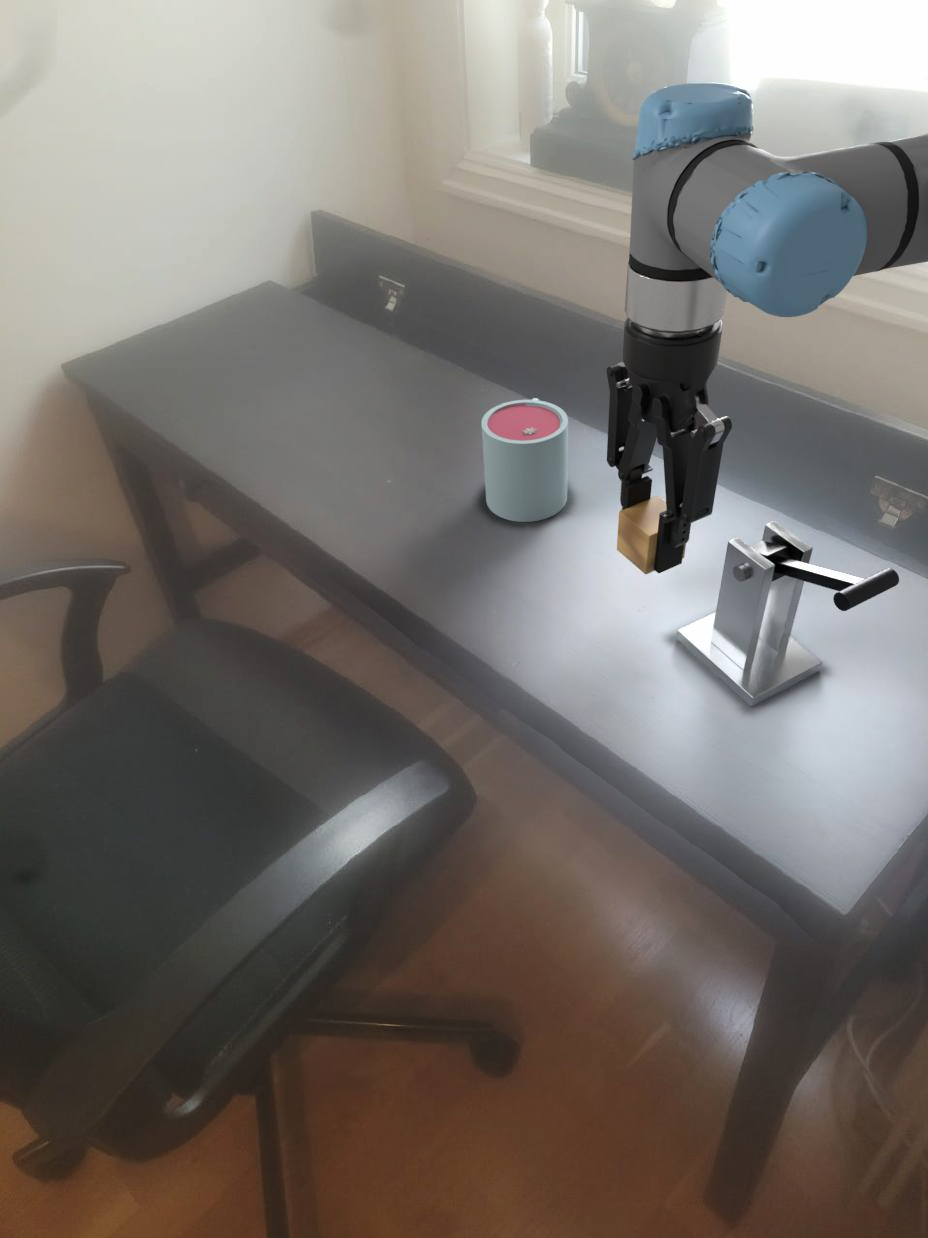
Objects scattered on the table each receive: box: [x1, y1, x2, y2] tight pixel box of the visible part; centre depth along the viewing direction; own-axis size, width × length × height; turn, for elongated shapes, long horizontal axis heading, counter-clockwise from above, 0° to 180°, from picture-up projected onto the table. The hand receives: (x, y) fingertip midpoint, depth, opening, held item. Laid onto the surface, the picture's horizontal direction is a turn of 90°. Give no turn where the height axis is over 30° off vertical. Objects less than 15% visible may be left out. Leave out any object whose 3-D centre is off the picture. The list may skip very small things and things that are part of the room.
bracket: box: [675, 520, 823, 708], centre depth 75 cm, size 10×8×13 cm
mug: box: [480, 397, 569, 523], centre depth 97 cm, size 14×9×10 cm
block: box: [616, 495, 687, 575], centre depth 82 cm, size 5×5×5 cm
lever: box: [749, 540, 900, 612], centre depth 67 cm, size 12×5×2 cm, turn 29°
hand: (650, 551), depth 83 cm, fingers closed on block, 5 cm apart
